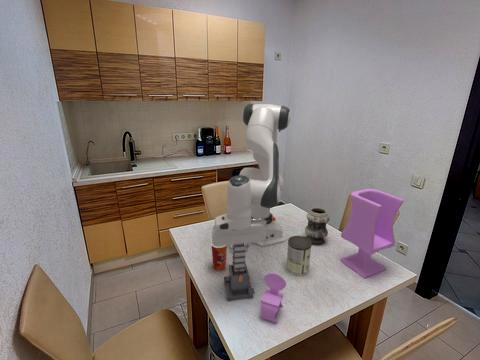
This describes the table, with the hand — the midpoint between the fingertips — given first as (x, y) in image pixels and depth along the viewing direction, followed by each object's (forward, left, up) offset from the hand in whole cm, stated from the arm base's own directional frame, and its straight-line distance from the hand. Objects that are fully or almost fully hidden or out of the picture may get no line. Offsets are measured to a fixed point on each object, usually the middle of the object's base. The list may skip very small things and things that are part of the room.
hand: (238, 252), depth 98 cm
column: (0, 0, -14) cm, 14 cm away
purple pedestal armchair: (-60, -6, -18) cm, 63 cm away
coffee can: (-29, -9, -18) cm, 35 cm away
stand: (0, 0, -18) cm, 18 cm away
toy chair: (-10, +13, -18) cm, 25 cm away
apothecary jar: (-48, -30, -18) cm, 59 cm away
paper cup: (+6, -16, -18) cm, 25 cm away
